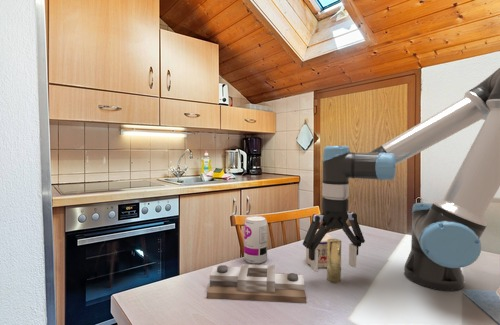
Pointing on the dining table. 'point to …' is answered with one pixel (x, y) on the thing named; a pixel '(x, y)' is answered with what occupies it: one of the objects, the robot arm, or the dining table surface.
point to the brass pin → (334, 260)
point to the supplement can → (255, 239)
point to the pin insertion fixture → (256, 284)
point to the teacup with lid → (320, 252)
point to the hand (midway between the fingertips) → (333, 268)
